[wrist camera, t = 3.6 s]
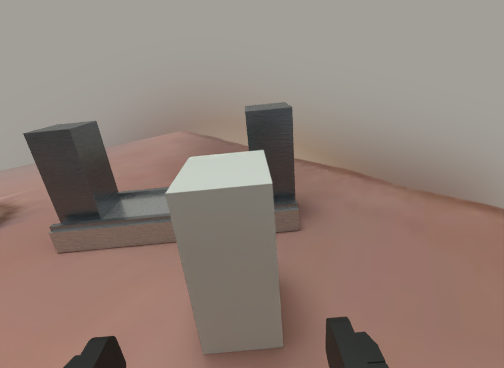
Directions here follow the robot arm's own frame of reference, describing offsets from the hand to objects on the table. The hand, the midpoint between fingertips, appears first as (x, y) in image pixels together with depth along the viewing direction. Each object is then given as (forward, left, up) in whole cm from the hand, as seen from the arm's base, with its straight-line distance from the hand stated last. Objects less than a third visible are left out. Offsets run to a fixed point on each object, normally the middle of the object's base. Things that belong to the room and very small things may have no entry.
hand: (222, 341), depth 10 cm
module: (-2, +7, -6) cm, 10 cm away
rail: (-14, +18, -6) cm, 23 cm away
